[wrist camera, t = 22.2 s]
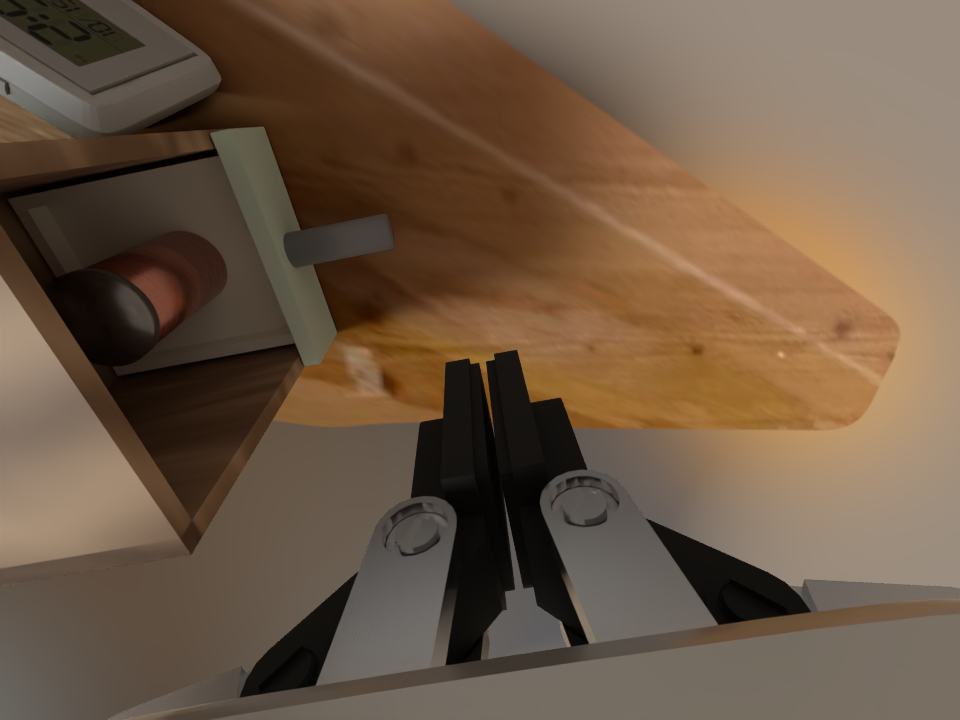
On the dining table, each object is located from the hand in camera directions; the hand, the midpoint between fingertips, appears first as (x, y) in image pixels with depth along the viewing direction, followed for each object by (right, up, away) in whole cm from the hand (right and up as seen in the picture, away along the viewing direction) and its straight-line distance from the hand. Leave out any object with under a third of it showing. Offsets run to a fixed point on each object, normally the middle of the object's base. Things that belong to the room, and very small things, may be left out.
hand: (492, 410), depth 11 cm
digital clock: (-24, +22, +18) cm, 37 cm away
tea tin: (-21, +8, +23) cm, 32 cm away
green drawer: (-18, +9, +25) cm, 32 cm away
